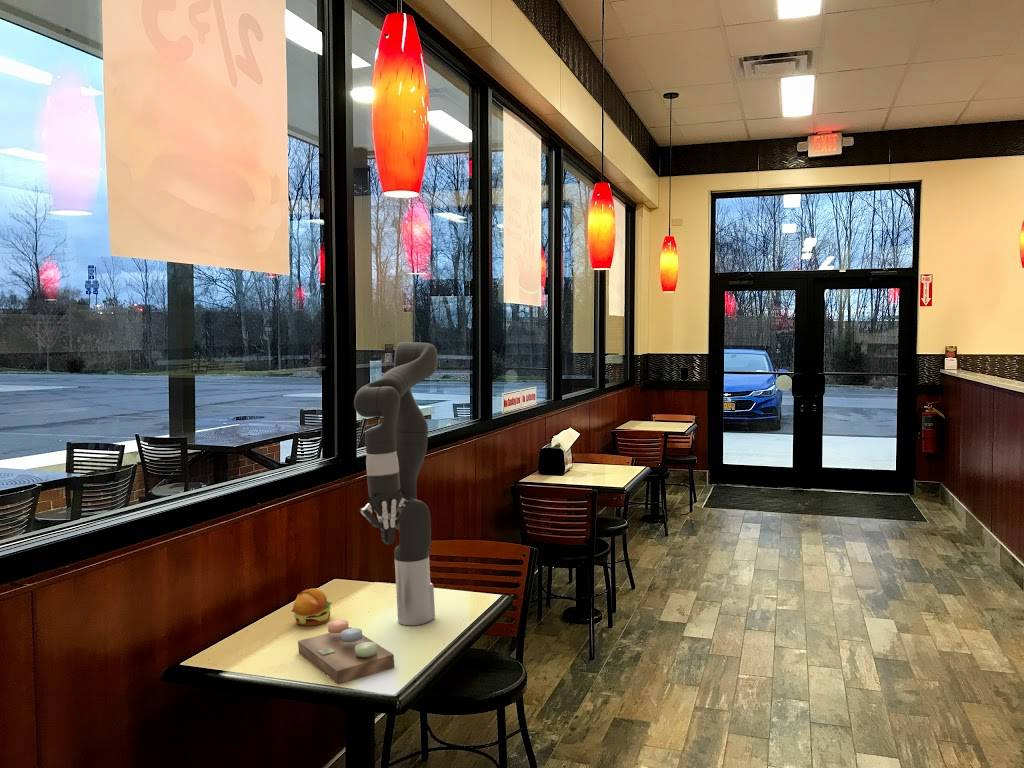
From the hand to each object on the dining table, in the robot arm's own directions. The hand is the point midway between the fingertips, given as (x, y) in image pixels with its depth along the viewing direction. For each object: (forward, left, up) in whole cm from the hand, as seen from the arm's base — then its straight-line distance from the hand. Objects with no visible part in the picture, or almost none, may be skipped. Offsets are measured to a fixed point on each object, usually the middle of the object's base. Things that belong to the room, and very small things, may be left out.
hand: (388, 543), depth 191 cm
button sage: (+8, +1, -24) cm, 25 cm away
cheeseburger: (+5, -39, -28) cm, 48 cm away
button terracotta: (+8, -15, -23) cm, 29 cm away
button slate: (+8, -7, -23) cm, 25 cm away
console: (+10, -7, -28) cm, 30 cm away
